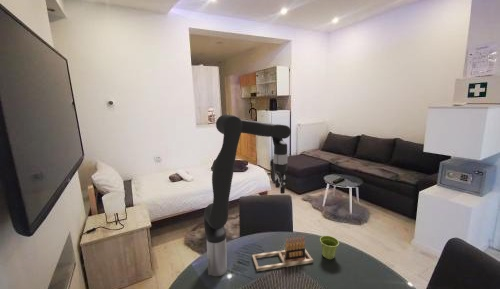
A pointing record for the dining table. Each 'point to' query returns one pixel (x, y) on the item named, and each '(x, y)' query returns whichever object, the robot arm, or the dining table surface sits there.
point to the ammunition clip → (295, 248)
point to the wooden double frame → (284, 262)
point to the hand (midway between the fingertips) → (279, 190)
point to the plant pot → (329, 246)
